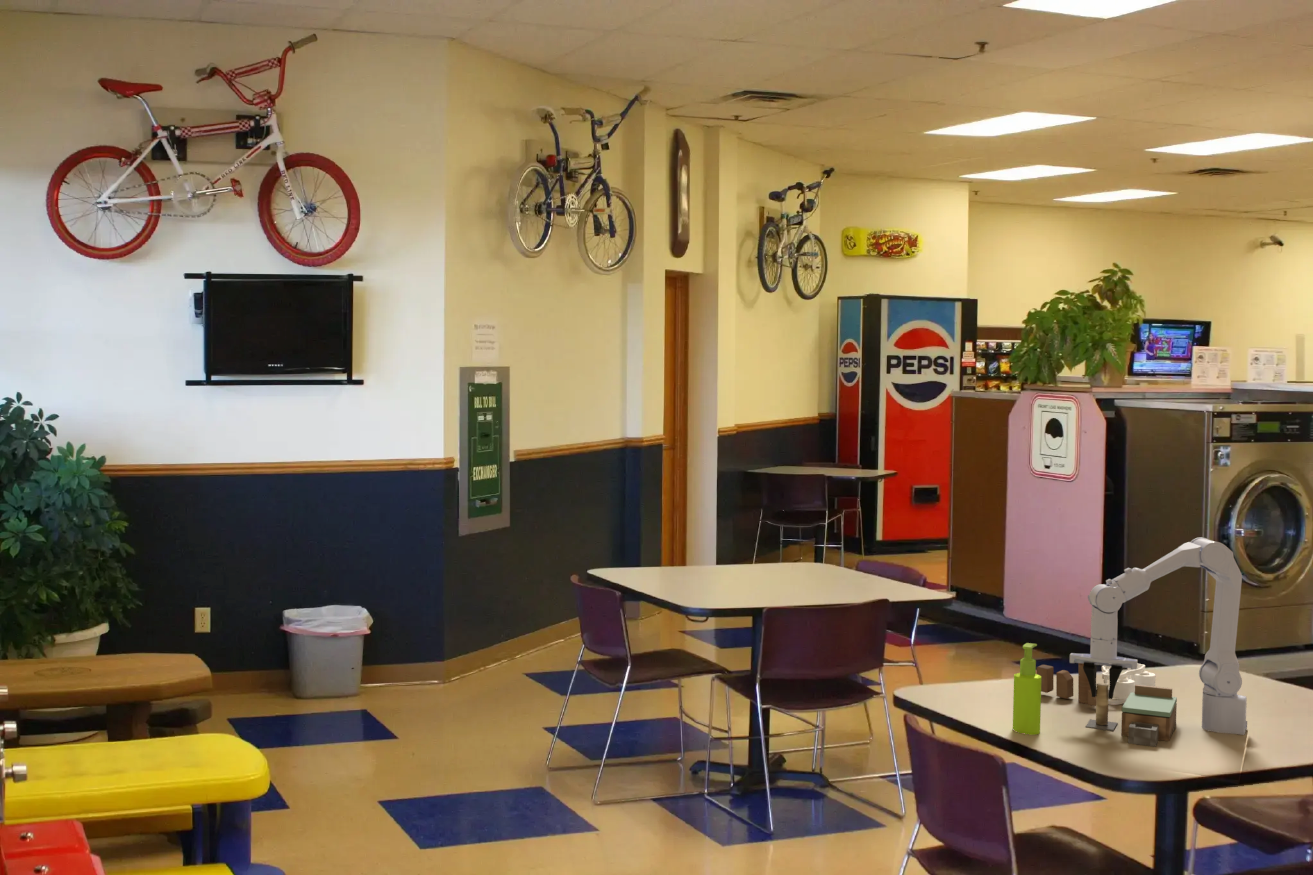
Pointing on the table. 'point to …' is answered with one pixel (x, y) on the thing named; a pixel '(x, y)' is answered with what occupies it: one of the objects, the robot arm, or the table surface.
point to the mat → (1109, 727)
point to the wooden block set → (1066, 683)
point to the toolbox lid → (1150, 701)
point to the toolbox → (1147, 727)
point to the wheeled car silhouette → (1128, 682)
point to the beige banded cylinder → (1102, 704)
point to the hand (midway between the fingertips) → (1102, 697)
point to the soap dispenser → (1027, 695)
